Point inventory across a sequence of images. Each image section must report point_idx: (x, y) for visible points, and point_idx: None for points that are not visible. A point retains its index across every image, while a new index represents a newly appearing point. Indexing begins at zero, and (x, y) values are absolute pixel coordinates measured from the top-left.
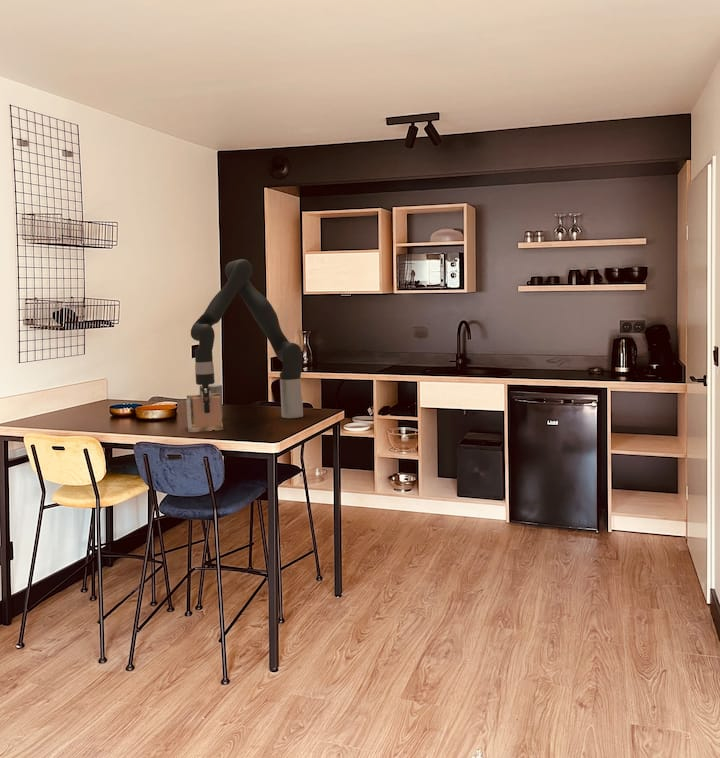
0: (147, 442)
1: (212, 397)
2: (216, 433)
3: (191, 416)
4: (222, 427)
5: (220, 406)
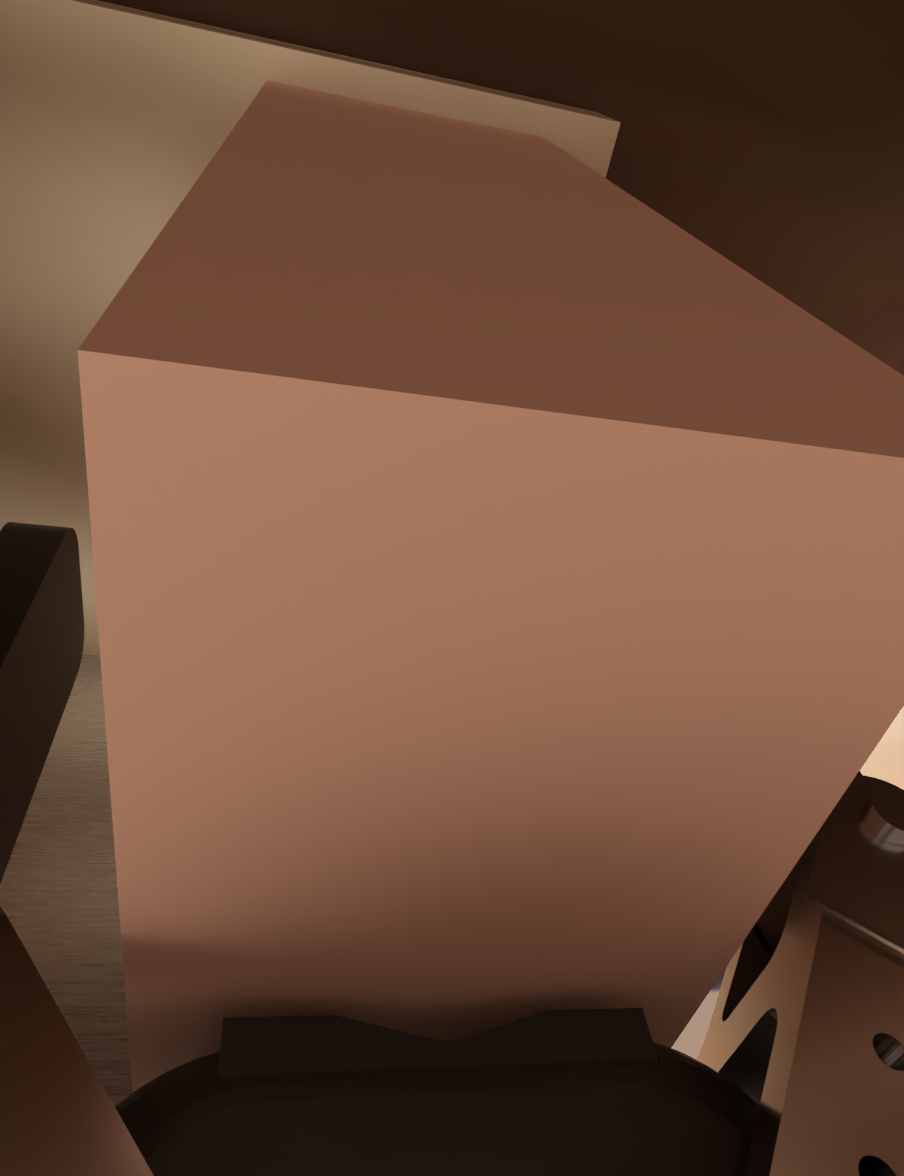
0: (723, 971)
1: (727, 862)
2: (836, 319)
3: (47, 771)
4: (610, 130)
5: (737, 271)
